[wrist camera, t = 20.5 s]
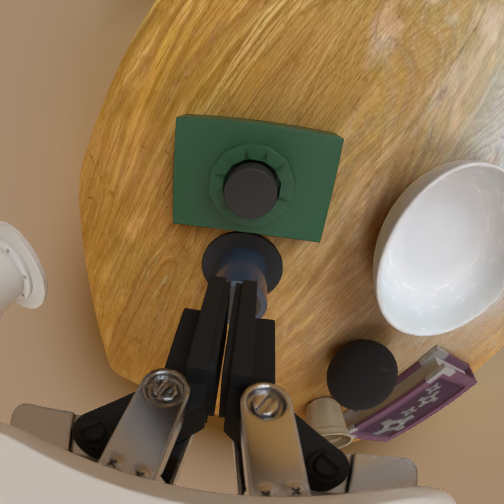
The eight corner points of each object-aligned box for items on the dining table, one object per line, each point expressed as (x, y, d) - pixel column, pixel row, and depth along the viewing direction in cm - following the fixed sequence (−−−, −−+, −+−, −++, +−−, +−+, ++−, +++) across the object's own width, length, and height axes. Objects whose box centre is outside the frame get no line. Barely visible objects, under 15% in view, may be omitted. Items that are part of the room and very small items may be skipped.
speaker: (326, 373, 42) (333, 427, 34) (319, 334, 38) (327, 395, 29) (385, 359, 41) (400, 411, 32) (388, 317, 36) (410, 375, 27)
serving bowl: (338, 297, 34) (348, 338, 28) (382, 122, 23) (415, 133, 18) (460, 303, 34) (480, 335, 28) (513, 172, 23) (548, 192, 18)
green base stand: (181, 210, 29) (166, 232, 25) (186, 114, 24) (169, 118, 20) (315, 227, 30) (322, 252, 25) (335, 133, 24) (349, 142, 20)
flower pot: (315, 419, 51) (317, 455, 44) (287, 404, 48) (288, 445, 41) (355, 402, 48) (361, 440, 40) (331, 386, 44) (336, 429, 37)
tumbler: (216, 285, 34) (207, 321, 28) (218, 244, 31) (208, 277, 26) (263, 292, 34) (262, 329, 29) (271, 251, 31) (271, 285, 26)
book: (435, 344, 39) (445, 366, 34) (469, 364, 42) (477, 382, 38) (336, 415, 51) (338, 436, 46) (382, 425, 54) (386, 442, 50)
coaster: (201, 292, 35) (201, 294, 34) (204, 226, 30) (203, 227, 30) (275, 302, 35) (275, 304, 35) (289, 237, 30) (289, 239, 30)
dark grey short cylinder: (225, 205, 24) (221, 215, 22) (229, 159, 22) (226, 165, 20) (272, 211, 24) (273, 222, 22) (280, 165, 22) (281, 172, 20)
